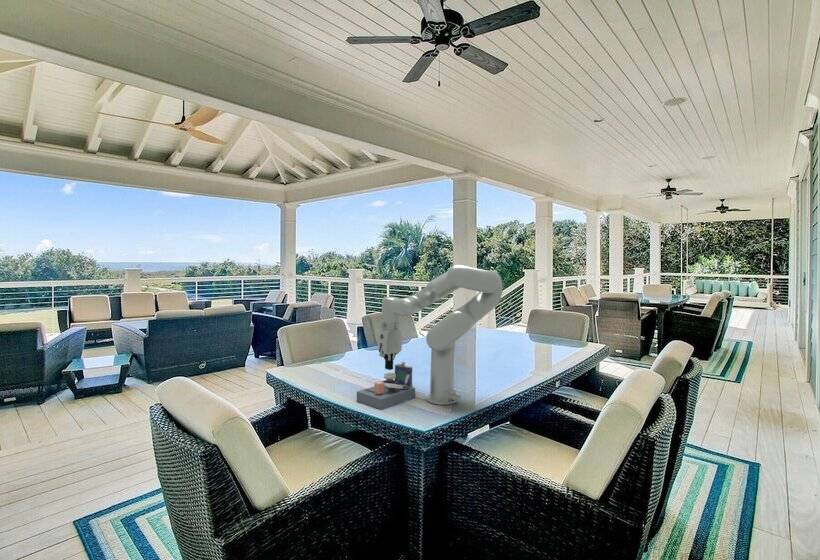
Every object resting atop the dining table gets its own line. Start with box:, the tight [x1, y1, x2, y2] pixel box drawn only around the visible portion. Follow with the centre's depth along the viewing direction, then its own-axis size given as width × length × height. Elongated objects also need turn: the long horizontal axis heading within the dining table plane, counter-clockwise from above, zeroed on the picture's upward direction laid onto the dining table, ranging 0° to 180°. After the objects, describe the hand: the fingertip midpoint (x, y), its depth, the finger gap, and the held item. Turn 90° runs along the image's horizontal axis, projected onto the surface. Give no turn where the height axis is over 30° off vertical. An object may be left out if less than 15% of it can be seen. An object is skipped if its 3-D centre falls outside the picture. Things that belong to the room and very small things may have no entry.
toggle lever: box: [404, 369, 413, 387], centre depth 174 cm, size 2×2×7 cm
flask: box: [393, 361, 413, 387], centre depth 193 cm, size 9×3×11 cm, turn 59°
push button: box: [383, 372, 396, 382], centre depth 178 cm, size 5×5×3 cm
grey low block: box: [356, 379, 416, 411], centre depth 172 cm, size 14×20×6 cm
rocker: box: [384, 383, 403, 389], centre depth 169 cm, size 4×8×1 cm, turn 139°
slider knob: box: [374, 381, 384, 394], centre depth 166 cm, size 2×3×4 cm
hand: (388, 369), depth 178 cm, fingers closed
